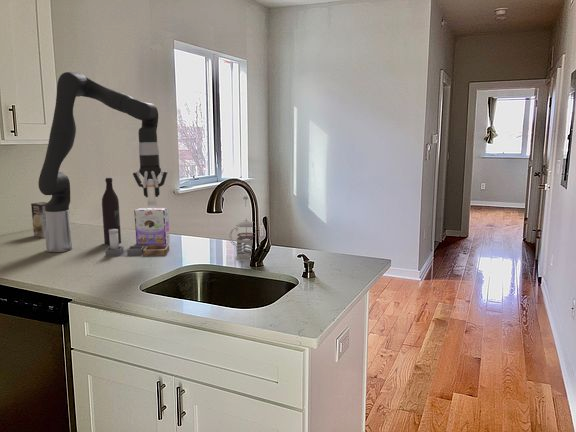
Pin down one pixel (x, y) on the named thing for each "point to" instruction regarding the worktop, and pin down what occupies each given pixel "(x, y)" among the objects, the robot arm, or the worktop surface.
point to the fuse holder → (130, 251)
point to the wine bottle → (110, 211)
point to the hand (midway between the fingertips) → (152, 196)
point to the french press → (244, 254)
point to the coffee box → (39, 219)
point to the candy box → (152, 226)
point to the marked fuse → (151, 193)
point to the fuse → (113, 239)
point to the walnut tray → (155, 250)
